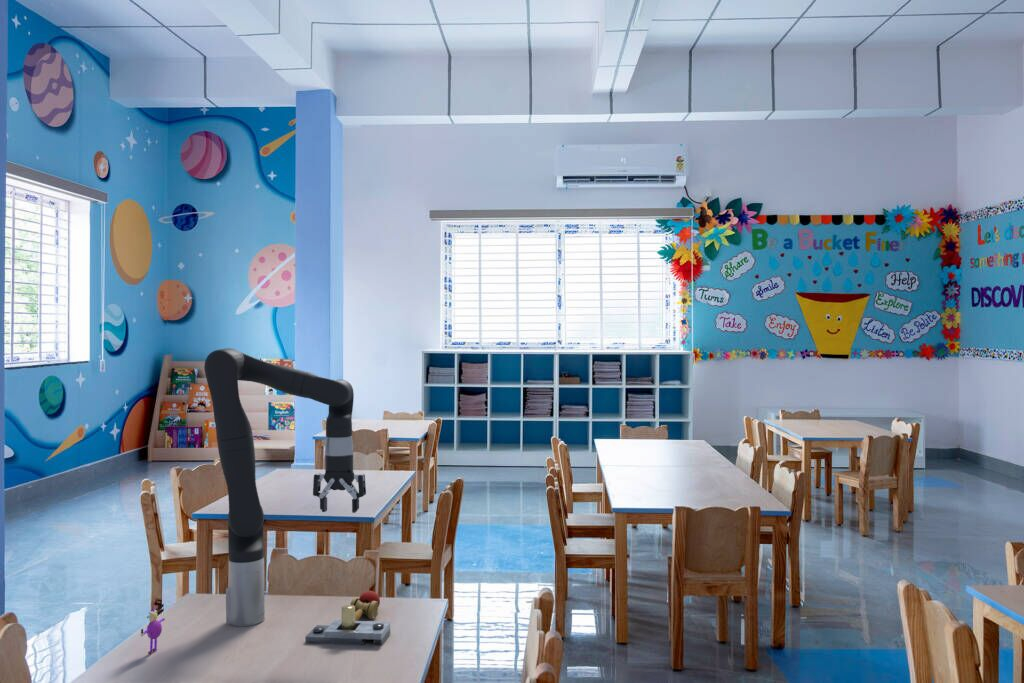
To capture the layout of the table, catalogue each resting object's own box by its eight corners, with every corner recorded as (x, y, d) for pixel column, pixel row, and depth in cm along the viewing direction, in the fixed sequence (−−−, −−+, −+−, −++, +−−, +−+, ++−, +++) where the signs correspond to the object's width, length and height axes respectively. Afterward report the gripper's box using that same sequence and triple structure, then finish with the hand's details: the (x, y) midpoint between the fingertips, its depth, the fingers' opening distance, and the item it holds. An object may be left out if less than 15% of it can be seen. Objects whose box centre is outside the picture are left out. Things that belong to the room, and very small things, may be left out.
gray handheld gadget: (305, 642, 196) (305, 628, 196) (317, 630, 204) (316, 617, 204) (381, 645, 194) (381, 631, 194) (390, 633, 202) (390, 619, 202)
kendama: (365, 637, 203) (388, 605, 220) (359, 615, 202) (383, 584, 220) (338, 641, 204) (363, 608, 222) (332, 618, 204) (358, 587, 221)
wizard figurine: (159, 643, 196) (159, 596, 196) (171, 643, 196) (171, 596, 196) (135, 662, 185) (135, 612, 185) (148, 662, 185) (148, 612, 185)
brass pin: (339, 640, 197) (339, 609, 197) (344, 635, 201) (344, 604, 201) (352, 640, 197) (352, 609, 197) (357, 635, 200) (356, 605, 200)
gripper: (308, 454, 208) (309, 514, 208) (360, 455, 206) (360, 515, 206) (319, 450, 215) (319, 508, 215) (368, 451, 213) (369, 509, 213)
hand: (339, 511), depth 210 cm, fingers open, 8 cm apart
